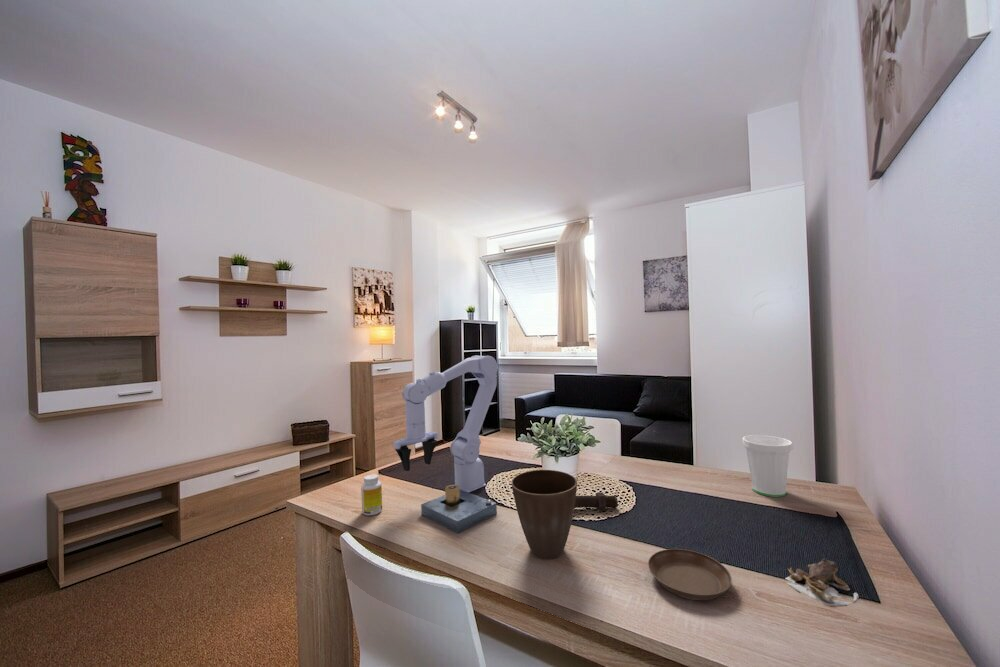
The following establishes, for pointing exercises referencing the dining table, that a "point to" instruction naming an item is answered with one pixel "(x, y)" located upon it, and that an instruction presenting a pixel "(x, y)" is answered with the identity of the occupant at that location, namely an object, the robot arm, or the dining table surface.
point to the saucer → (689, 574)
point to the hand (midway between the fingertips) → (417, 467)
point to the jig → (459, 511)
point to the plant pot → (545, 509)
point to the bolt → (596, 501)
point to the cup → (768, 463)
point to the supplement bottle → (371, 495)
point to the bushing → (452, 495)
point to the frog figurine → (820, 583)
